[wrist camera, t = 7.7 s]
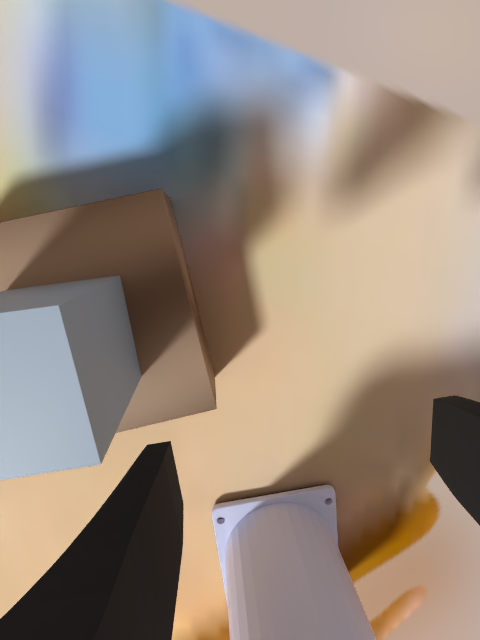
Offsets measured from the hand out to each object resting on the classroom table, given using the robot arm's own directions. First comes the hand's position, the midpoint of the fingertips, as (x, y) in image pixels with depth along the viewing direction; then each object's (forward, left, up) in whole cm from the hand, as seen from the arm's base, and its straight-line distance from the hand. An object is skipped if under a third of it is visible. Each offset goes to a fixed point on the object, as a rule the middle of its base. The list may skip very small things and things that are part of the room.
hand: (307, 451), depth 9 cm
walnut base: (+2, +8, -11) cm, 14 cm away
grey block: (+2, +8, -7) cm, 11 cm away
